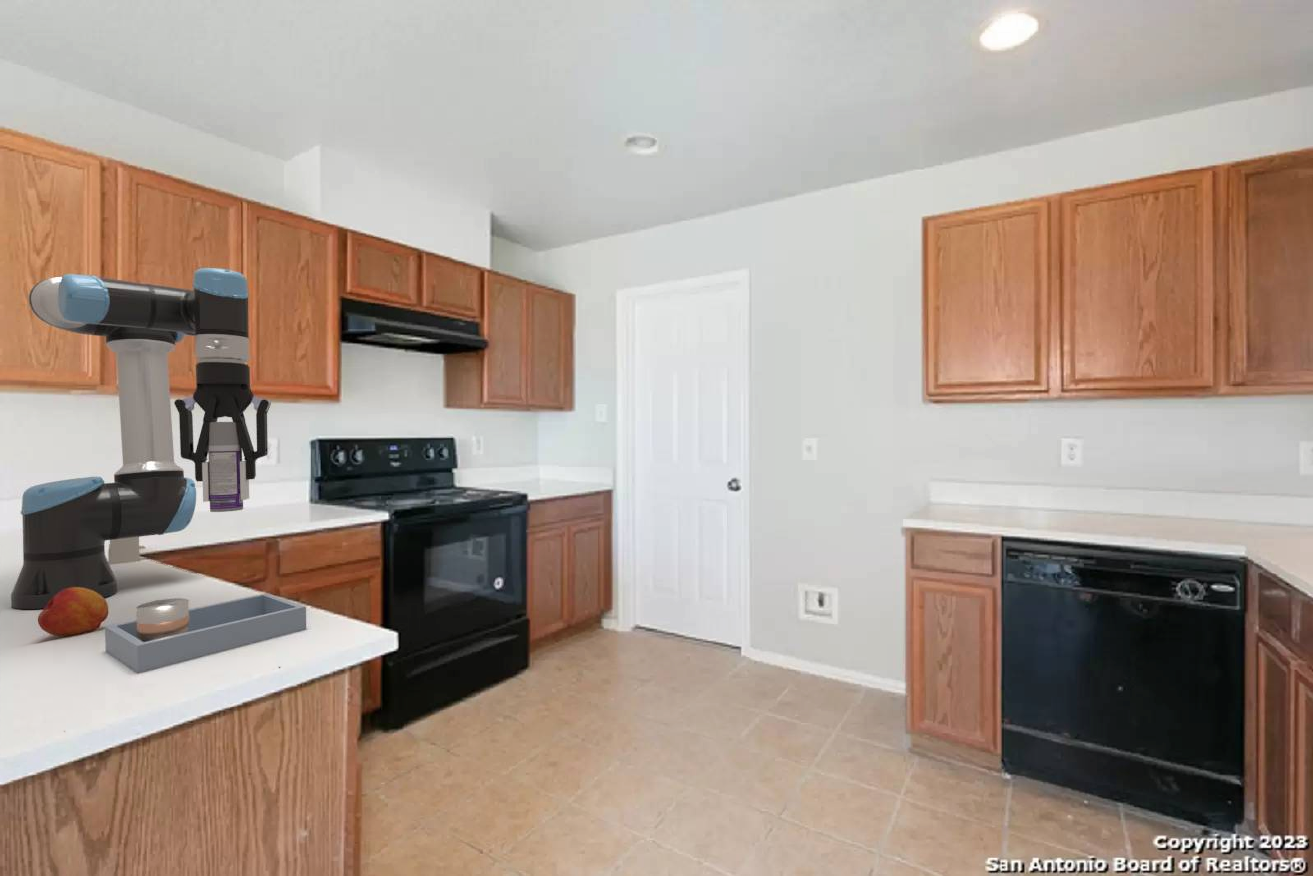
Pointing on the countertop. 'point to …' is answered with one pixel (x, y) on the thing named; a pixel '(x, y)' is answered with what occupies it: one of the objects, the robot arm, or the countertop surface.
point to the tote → (208, 632)
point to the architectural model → (124, 550)
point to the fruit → (73, 612)
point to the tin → (162, 619)
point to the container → (224, 467)
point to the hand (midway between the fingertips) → (226, 499)
